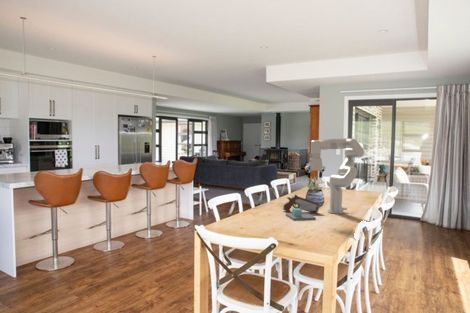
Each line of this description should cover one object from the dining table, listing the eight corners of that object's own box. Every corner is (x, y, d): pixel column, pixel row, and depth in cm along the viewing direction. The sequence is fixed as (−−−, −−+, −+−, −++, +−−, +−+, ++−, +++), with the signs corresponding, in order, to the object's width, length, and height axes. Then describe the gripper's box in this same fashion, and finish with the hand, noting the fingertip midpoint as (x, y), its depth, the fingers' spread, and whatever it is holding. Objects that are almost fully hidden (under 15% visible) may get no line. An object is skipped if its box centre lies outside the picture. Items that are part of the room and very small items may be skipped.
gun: (314, 221, 270) (320, 204, 268) (282, 209, 274) (288, 192, 272) (314, 219, 274) (320, 202, 273) (282, 208, 279) (288, 191, 277)
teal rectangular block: (294, 216, 251) (295, 210, 251) (292, 214, 257) (292, 208, 256) (301, 216, 253) (301, 209, 252) (298, 214, 258) (298, 208, 258)
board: (306, 214, 265) (306, 207, 265) (315, 219, 250) (315, 212, 249) (285, 215, 261) (285, 208, 261) (293, 220, 246) (293, 213, 245)
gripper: (307, 156, 254) (306, 178, 255) (327, 156, 258) (327, 178, 259) (303, 155, 261) (302, 177, 262) (323, 155, 265) (322, 177, 266)
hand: (314, 177), depth 260 cm, fingers open, 9 cm apart
